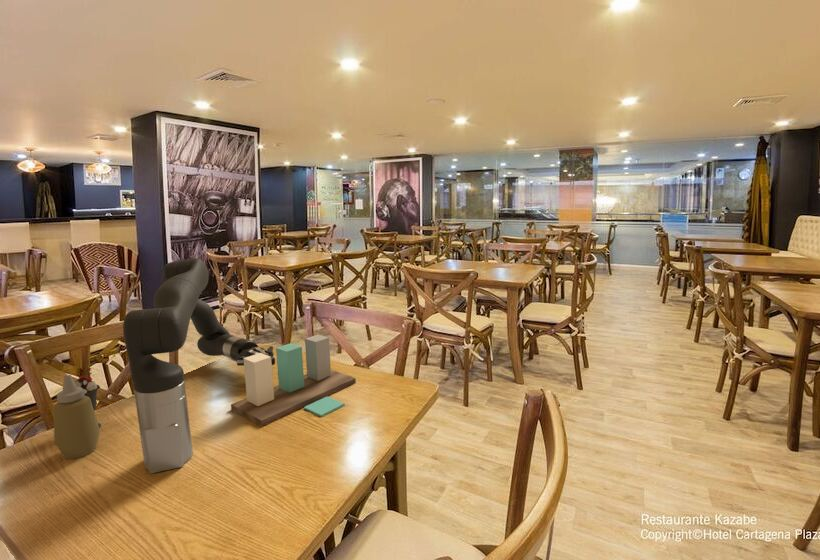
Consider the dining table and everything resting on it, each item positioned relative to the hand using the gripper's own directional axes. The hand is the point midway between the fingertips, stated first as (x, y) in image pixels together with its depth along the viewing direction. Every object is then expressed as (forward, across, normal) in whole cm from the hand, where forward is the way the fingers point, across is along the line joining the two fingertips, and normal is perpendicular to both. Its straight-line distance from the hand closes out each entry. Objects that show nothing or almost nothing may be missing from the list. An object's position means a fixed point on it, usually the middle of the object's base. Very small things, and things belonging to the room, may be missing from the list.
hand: (272, 361), depth 131 cm
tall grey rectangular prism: (+8, +10, +6) cm, 14 cm away
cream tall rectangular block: (+8, -10, +6) cm, 14 cm away
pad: (+22, 0, +8) cm, 24 cm away
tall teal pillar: (+8, 0, +6) cm, 10 cm away
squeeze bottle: (-5, -47, +8) cm, 48 cm away
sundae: (-15, -42, +8) cm, 46 cm away
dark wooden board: (+11, 0, +7) cm, 13 cm away
